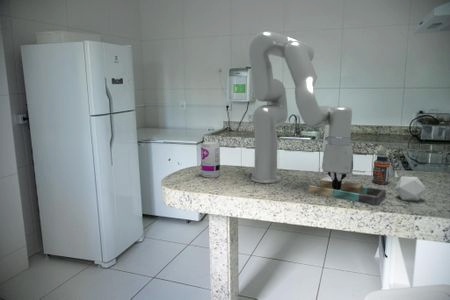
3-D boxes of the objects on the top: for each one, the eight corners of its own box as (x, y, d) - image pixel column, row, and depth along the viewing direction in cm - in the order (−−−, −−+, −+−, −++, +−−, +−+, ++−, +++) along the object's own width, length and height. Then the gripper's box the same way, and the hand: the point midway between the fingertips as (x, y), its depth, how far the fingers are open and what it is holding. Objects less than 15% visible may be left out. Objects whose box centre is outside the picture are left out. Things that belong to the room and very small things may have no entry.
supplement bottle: (370, 183, 134) (372, 156, 132) (373, 180, 139) (375, 153, 137) (386, 185, 130) (388, 157, 128) (389, 182, 135) (391, 155, 133)
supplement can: (206, 179, 141) (206, 144, 139) (198, 175, 148) (198, 142, 146) (223, 176, 145) (222, 143, 143) (214, 172, 152) (214, 140, 150)
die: (419, 206, 108) (434, 182, 109) (395, 192, 110) (410, 168, 111) (409, 207, 116) (423, 184, 117) (387, 193, 118) (401, 171, 119)
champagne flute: (319, 181, 136) (322, 124, 132) (321, 177, 143) (323, 122, 138) (336, 183, 134) (340, 124, 130) (337, 179, 140) (340, 123, 136)
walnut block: (340, 195, 119) (341, 185, 118) (345, 191, 123) (345, 181, 123) (357, 199, 115) (358, 188, 114) (362, 194, 120) (362, 184, 119)
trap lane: (308, 192, 122) (308, 185, 122) (320, 185, 131) (320, 179, 131) (377, 205, 108) (377, 198, 107) (385, 196, 117) (386, 190, 116)
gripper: (315, 140, 120) (313, 189, 123) (357, 144, 111) (354, 196, 114) (323, 138, 126) (320, 184, 129) (363, 141, 117) (360, 191, 120)
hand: (336, 190), depth 121 cm, fingers closed
